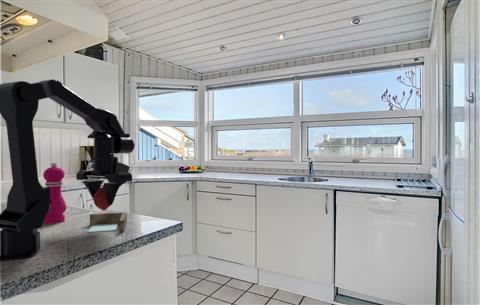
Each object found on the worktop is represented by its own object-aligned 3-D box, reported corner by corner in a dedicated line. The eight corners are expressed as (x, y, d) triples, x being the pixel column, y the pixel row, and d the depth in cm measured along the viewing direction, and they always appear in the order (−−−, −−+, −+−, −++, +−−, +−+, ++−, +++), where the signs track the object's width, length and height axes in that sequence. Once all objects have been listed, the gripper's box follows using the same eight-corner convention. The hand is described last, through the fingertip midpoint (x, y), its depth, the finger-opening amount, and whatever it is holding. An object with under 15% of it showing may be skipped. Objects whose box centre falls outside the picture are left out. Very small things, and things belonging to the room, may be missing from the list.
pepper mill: (68, 218, 101) (68, 162, 101) (63, 223, 94) (64, 162, 94) (44, 219, 98) (44, 162, 98) (38, 225, 92) (38, 163, 91)
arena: (82, 235, 81) (82, 222, 81) (90, 224, 93) (90, 213, 93) (123, 231, 84) (124, 220, 84) (126, 222, 96) (126, 211, 96)
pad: (87, 232, 83) (87, 231, 83) (92, 226, 91) (92, 225, 91) (115, 230, 86) (115, 229, 86) (118, 224, 93) (118, 223, 93)
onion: (105, 212, 85) (106, 186, 85) (88, 212, 86) (89, 185, 86) (117, 209, 90) (118, 184, 90) (101, 208, 91) (102, 183, 91)
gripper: (145, 153, 91) (145, 202, 91) (106, 153, 99) (105, 197, 99) (116, 154, 81) (116, 208, 81) (75, 153, 89) (75, 202, 89)
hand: (103, 203), depth 88 cm, fingers closed on onion, 6 cm apart
